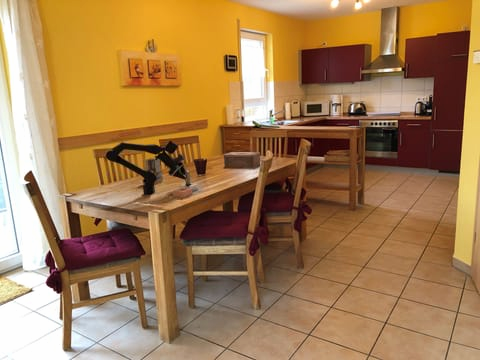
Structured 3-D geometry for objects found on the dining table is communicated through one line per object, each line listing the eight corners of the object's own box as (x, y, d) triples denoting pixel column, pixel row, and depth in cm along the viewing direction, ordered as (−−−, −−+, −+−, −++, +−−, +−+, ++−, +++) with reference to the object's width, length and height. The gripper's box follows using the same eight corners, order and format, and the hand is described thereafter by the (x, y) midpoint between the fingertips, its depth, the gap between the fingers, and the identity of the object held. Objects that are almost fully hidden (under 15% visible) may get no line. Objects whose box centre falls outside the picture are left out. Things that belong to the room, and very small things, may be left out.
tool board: (185, 200, 216) (184, 198, 215) (162, 198, 224) (162, 196, 223) (207, 191, 234) (207, 189, 234) (186, 189, 242) (185, 187, 242)
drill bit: (189, 191, 233) (187, 171, 230) (185, 190, 234) (183, 171, 232) (192, 190, 235) (190, 170, 233) (188, 189, 237) (186, 170, 234)
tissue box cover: (260, 164, 315) (260, 152, 313) (254, 168, 302) (253, 155, 300) (231, 163, 325) (231, 152, 323) (224, 167, 313) (223, 154, 310)
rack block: (184, 197, 218) (183, 191, 217) (173, 196, 222) (172, 190, 221) (192, 194, 225) (192, 188, 224) (181, 193, 229) (181, 187, 228)
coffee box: (163, 181, 269) (161, 158, 265) (157, 183, 264) (154, 160, 260) (153, 180, 274) (151, 157, 270) (147, 182, 268) (144, 159, 265)
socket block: (190, 192, 229) (189, 186, 229) (179, 191, 233) (179, 185, 233) (198, 189, 236) (197, 183, 235) (187, 188, 240) (187, 182, 239)
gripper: (172, 152, 221) (192, 170, 222) (179, 148, 239) (198, 164, 241) (159, 166, 223) (180, 184, 225) (168, 161, 241) (186, 177, 243)
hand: (187, 177), depth 233 cm, fingers open, 9 cm apart
